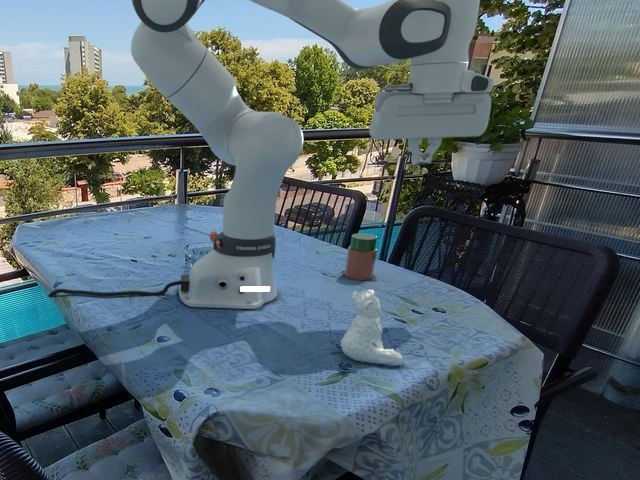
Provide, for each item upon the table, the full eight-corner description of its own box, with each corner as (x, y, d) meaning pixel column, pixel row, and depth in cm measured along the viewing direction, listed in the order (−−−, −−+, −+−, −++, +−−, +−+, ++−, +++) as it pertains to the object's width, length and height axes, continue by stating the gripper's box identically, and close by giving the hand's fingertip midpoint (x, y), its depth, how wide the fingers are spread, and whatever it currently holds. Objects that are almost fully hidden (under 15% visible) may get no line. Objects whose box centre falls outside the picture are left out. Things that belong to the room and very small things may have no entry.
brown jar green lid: (351, 280, 112) (356, 240, 108) (340, 271, 118) (345, 233, 114) (377, 279, 113) (383, 239, 109) (365, 270, 118) (371, 232, 115)
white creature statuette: (404, 367, 76) (418, 300, 71) (354, 372, 75) (365, 304, 71) (374, 340, 85) (384, 278, 80) (328, 344, 84) (336, 282, 79)
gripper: (386, 84, 79) (374, 167, 84) (504, 80, 79) (484, 163, 85) (369, 85, 85) (359, 163, 90) (479, 81, 85) (462, 159, 91)
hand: (420, 163), depth 87 cm, fingers closed
